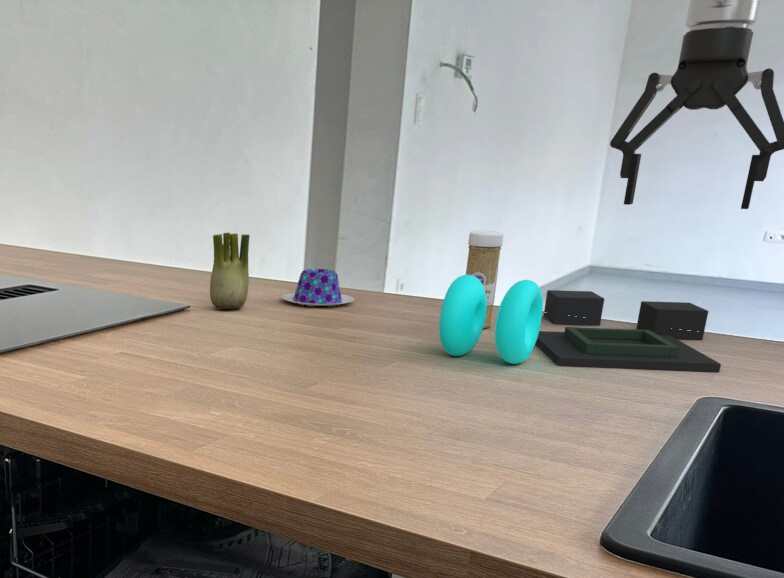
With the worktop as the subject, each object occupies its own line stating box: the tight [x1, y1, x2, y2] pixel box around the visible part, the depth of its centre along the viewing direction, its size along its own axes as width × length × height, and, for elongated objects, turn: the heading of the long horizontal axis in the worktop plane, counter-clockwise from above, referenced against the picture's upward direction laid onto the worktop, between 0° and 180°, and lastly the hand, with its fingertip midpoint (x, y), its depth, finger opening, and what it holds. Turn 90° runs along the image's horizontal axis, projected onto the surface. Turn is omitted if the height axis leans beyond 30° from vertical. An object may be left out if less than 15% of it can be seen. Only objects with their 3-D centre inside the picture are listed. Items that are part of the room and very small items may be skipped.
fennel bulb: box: [209, 232, 250, 310], centre depth 135 cm, size 6×5×12 cm
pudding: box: [281, 268, 355, 307], centre depth 143 cm, size 12×12×5 cm
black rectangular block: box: [635, 300, 709, 341], centre depth 120 cm, size 6×6×4 cm
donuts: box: [438, 274, 544, 365], centre depth 104 cm, size 10×10×10 cm
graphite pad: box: [543, 289, 605, 327], centre depth 129 cm, size 6×6×4 cm
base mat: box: [535, 326, 722, 373], centre depth 109 cm, size 18×16×2 cm
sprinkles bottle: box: [465, 230, 504, 329], centre depth 123 cm, size 5×5×13 cm
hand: (684, 206), depth 114 cm, fingers open, 13 cm apart
